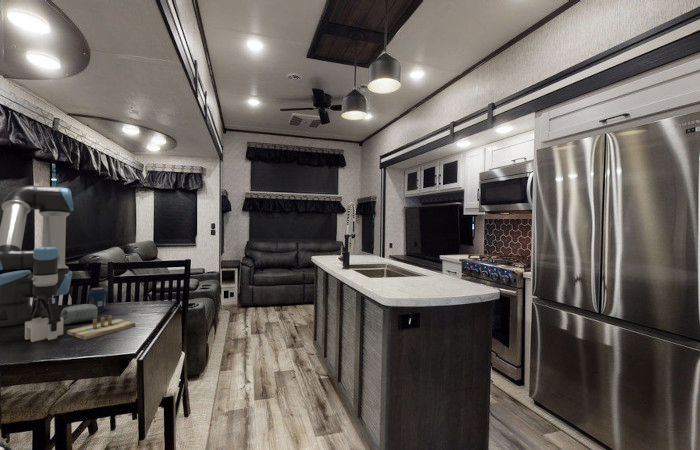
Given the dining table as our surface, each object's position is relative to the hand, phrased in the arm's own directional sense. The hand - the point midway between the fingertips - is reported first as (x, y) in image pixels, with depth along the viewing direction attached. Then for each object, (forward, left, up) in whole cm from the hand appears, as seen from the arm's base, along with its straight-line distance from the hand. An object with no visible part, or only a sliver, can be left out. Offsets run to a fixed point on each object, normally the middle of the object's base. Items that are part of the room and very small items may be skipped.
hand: (44, 336), depth 136 cm
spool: (-10, +17, 0) cm, 20 cm away
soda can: (-23, +31, 0) cm, 39 cm away
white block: (0, 0, 0) cm, 0 cm away
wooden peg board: (+11, +16, 0) cm, 19 cm away
